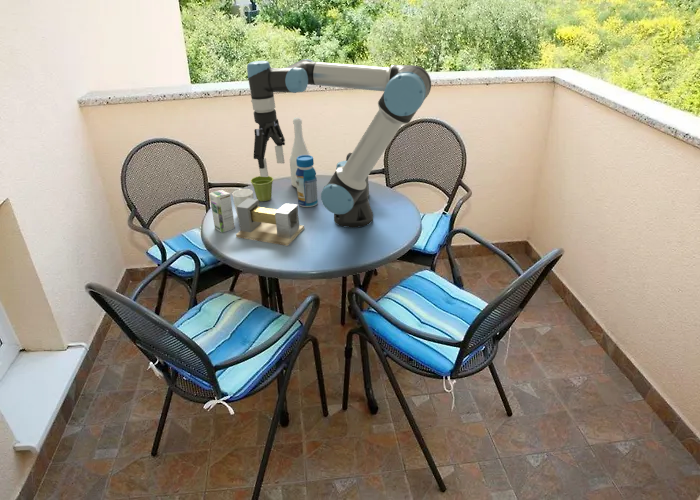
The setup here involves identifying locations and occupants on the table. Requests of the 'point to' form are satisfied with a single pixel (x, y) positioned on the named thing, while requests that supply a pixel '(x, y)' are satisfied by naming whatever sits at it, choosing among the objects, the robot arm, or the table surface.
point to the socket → (247, 215)
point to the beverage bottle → (306, 181)
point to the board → (268, 234)
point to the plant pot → (262, 187)
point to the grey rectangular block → (287, 220)
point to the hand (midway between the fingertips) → (272, 169)
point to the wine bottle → (297, 149)
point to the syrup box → (222, 210)
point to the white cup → (241, 196)
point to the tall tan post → (263, 215)
